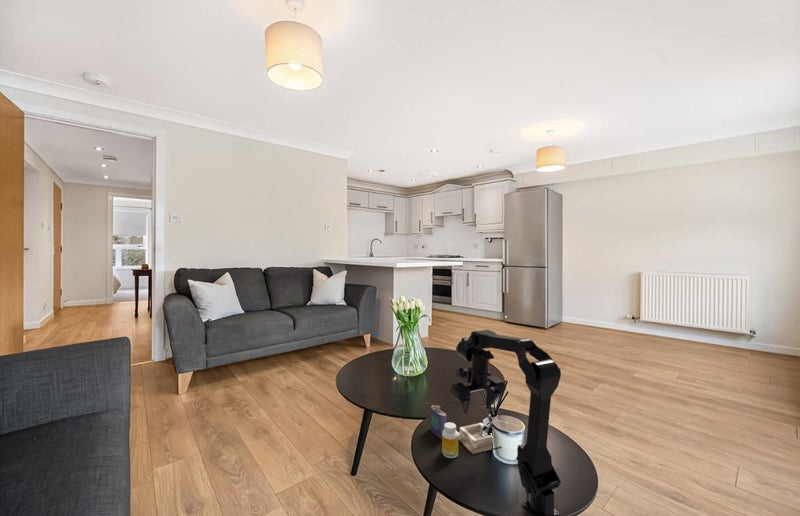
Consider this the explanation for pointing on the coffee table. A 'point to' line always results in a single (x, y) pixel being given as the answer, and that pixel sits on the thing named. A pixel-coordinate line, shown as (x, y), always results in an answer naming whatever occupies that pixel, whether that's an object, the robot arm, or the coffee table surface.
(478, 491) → the coffee table surface
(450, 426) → the supplement bottle
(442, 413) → the flask
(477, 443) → the beige square open piece
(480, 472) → the coffee table surface
